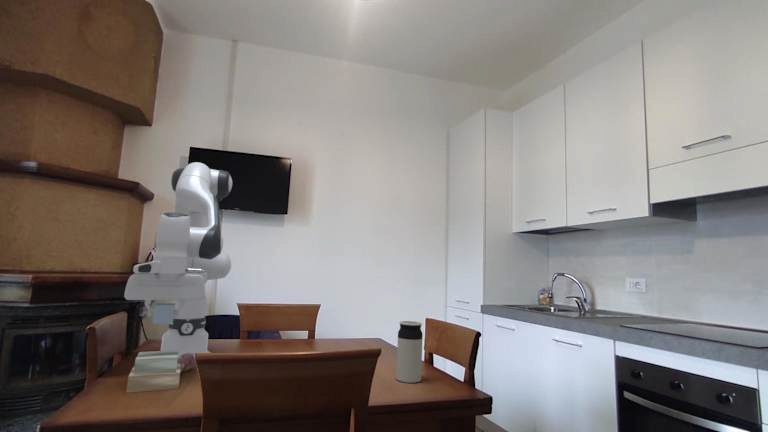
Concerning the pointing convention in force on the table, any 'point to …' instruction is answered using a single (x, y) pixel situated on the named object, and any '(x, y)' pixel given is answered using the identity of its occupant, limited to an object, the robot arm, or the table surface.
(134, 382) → the cream stepped block
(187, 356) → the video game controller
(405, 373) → the travel mug
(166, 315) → the slate brick
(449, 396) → the table surface
